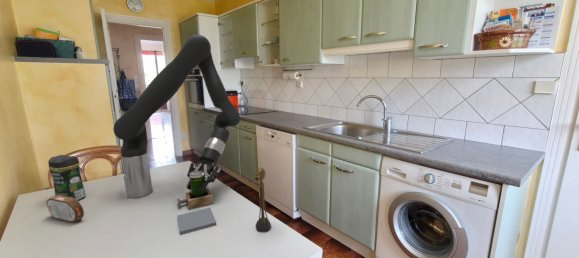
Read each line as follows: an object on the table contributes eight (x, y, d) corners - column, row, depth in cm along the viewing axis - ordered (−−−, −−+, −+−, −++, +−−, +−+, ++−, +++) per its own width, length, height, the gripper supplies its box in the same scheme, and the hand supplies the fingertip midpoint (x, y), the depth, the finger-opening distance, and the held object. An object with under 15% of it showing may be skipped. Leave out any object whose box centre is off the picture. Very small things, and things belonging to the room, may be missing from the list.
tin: (86, 220, 90) (82, 197, 88) (76, 225, 87) (71, 202, 86) (58, 214, 95) (53, 192, 93) (47, 218, 92) (42, 196, 90)
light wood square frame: (179, 212, 94) (178, 203, 93) (177, 202, 102) (176, 193, 101) (213, 204, 99) (212, 195, 99) (209, 195, 107) (208, 187, 106)
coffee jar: (52, 202, 104) (42, 157, 101) (73, 193, 112) (65, 152, 108) (68, 205, 101) (59, 159, 98) (89, 196, 109) (81, 153, 105)
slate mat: (180, 234, 80) (179, 231, 80) (177, 218, 90) (177, 215, 90) (216, 224, 85) (216, 222, 85) (210, 210, 95) (210, 207, 95)
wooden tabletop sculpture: (266, 235, 79) (263, 172, 75) (252, 233, 80) (248, 171, 76) (272, 224, 84) (270, 165, 80) (259, 222, 86) (256, 164, 82)
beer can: (209, 202, 101) (206, 172, 98) (195, 206, 97) (191, 176, 95) (203, 197, 105) (200, 169, 102) (190, 201, 101) (187, 172, 99)
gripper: (194, 145, 107) (174, 184, 98) (222, 148, 101) (204, 189, 93) (204, 154, 112) (186, 191, 104) (231, 157, 107) (215, 197, 98)
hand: (194, 190), depth 98 cm, fingers closed on beer can, 5 cm apart
